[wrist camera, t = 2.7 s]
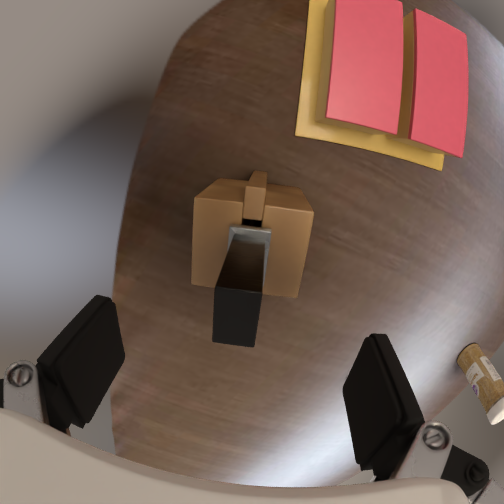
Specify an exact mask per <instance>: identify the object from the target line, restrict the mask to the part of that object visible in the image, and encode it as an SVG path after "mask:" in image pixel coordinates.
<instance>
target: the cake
mask: <svg viewBox="0 0 504 504" xmlns="http://www.w3.org/2000/svg"><path fill="white" fill-rule="evenodd" d="M467 109H468V52H467V39H466V34H464V33H463V32H461V31H459V30H458V29H456V28H454V27H452V26H451V25H449V24H447V23H445V22H443V21H441V20H439V19H437V18H435V17H433V16H431V15H429V14H427V13H425V12H423V11H421V10H418V9H416V8H415V9H414V10H413V11H411V12H410V13H409V14H407V15H406V16H405V17H404V18H403V8H402V2H399V1H397V0H309V9H308V20H307V31H306V41H305V51H304V61H303V70H302V79H301V88H300V96H299V105H298V113H297V121H296V129H295V136H299V137H306V138H312V139H317V140H323V141H328V142H333V143H338V144H343V145H348V146H352V147H357V148H361V149H366V150H370V151H374V152H378V153H382V154H386V155H389V156H393V157H397V158H400V159H404V160H407V161H411V162H414V163H417V164H420V165H424V166H427V167H430V168H433V169H436V170H439V171H442V166H443V160H444V155H448V156H453V157H458V158H462V157H463V150H464V142H465V133H466V123H467Z"/></svg>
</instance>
